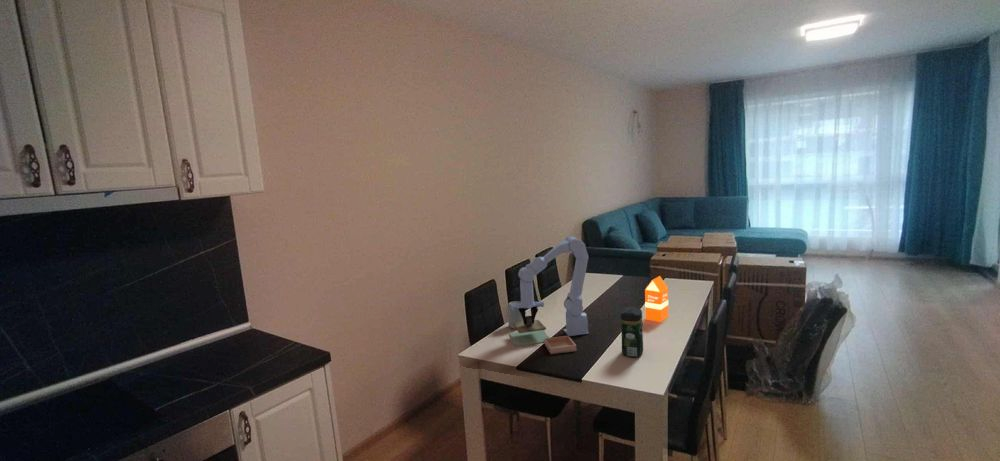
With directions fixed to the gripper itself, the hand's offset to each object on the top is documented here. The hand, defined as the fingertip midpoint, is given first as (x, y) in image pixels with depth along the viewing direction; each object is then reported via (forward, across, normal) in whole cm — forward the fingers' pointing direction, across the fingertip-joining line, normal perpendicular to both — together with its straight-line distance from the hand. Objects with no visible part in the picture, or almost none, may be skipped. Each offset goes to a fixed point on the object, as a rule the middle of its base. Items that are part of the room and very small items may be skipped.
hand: (528, 323), depth 201 cm
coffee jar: (+7, +36, -28) cm, 46 cm away
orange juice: (+7, +64, +5) cm, 65 cm away
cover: (+2, 0, 0) cm, 2 cm away
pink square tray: (+7, +10, -14) cm, 18 cm away
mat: (+7, 0, 0) cm, 7 cm away
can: (+7, -3, +16) cm, 18 cm away
